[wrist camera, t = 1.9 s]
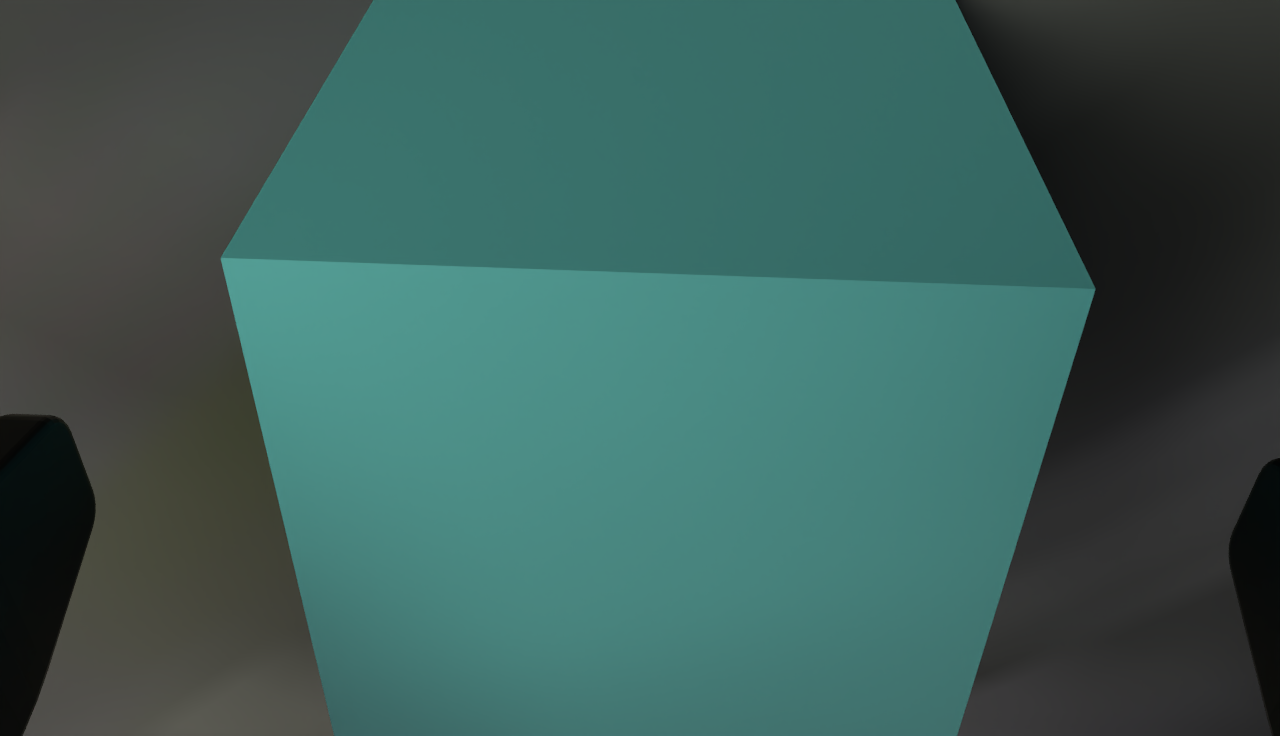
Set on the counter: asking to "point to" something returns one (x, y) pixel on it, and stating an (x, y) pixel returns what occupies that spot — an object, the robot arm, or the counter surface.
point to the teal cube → (655, 365)
